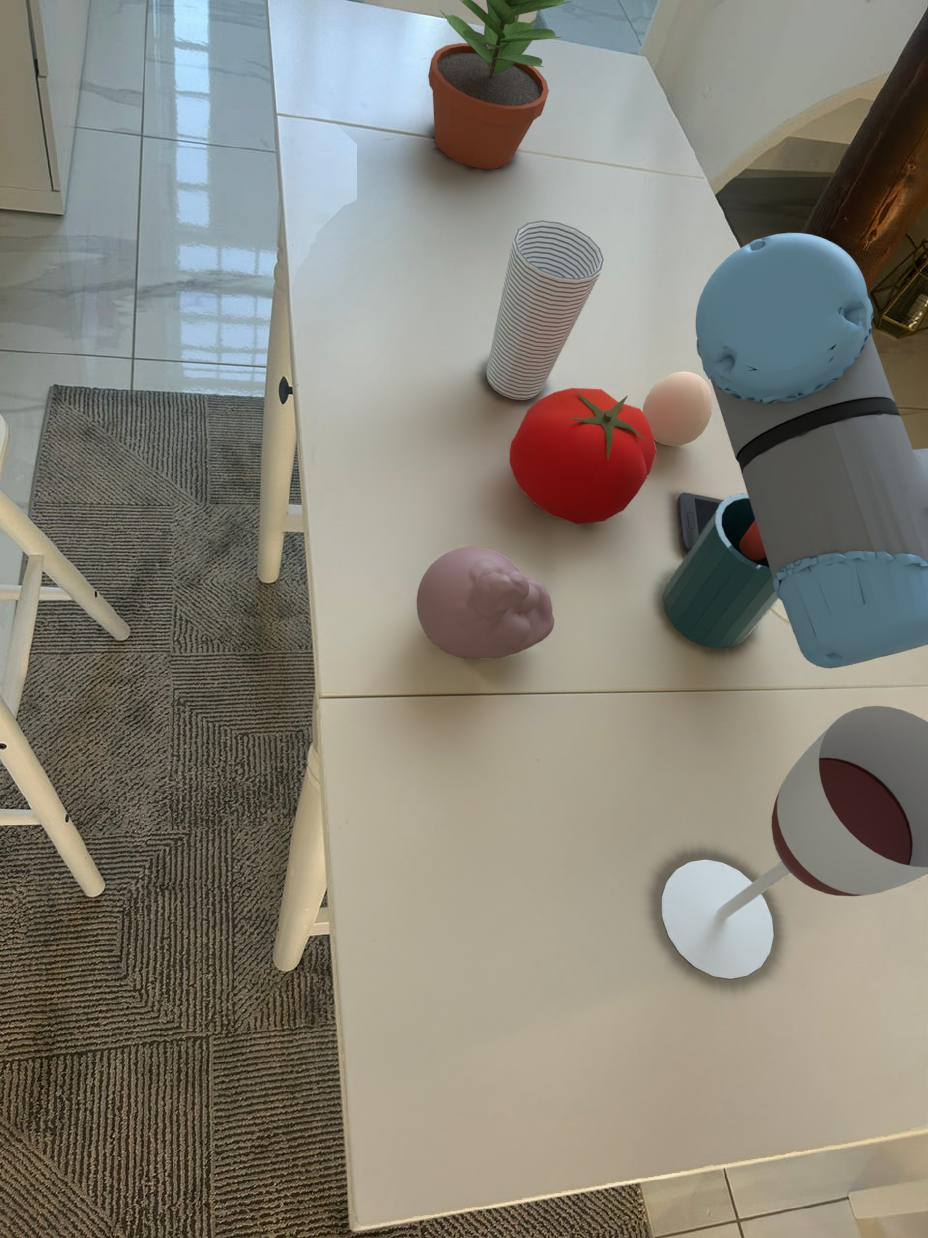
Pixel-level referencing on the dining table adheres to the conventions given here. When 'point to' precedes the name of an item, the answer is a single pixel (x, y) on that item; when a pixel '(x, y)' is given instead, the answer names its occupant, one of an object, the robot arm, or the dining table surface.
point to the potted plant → (489, 84)
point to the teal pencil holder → (720, 582)
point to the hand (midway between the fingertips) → (810, 489)
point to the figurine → (482, 605)
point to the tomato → (582, 454)
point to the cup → (540, 304)
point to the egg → (678, 408)
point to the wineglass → (815, 839)
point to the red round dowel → (752, 544)
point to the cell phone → (694, 516)
